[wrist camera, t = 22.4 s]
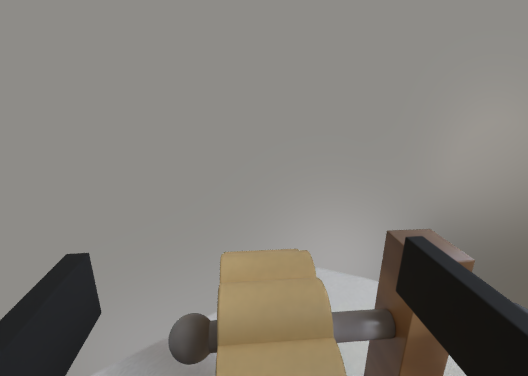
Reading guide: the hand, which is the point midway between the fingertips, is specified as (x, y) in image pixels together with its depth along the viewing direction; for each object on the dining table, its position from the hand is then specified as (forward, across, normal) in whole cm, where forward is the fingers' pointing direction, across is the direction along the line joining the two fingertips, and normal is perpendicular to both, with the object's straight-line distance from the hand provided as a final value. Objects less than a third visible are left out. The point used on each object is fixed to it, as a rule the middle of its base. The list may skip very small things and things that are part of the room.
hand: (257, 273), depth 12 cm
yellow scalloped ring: (+1, +1, -12) cm, 12 cm away
